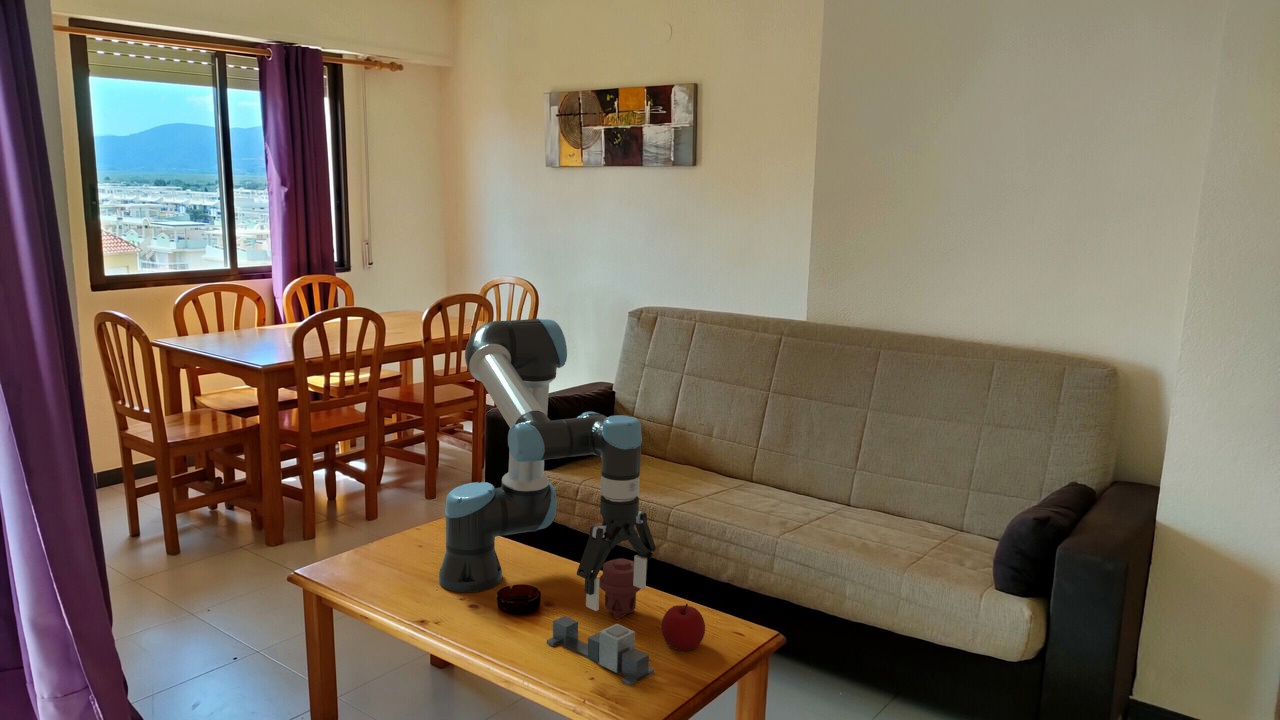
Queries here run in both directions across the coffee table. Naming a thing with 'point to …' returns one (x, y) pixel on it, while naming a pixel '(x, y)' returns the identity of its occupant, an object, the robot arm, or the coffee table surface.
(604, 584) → the mechanical component
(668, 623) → the apple
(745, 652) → the coffee table surface
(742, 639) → the coffee table surface
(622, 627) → the block
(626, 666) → the rail
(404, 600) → the coffee table surface
